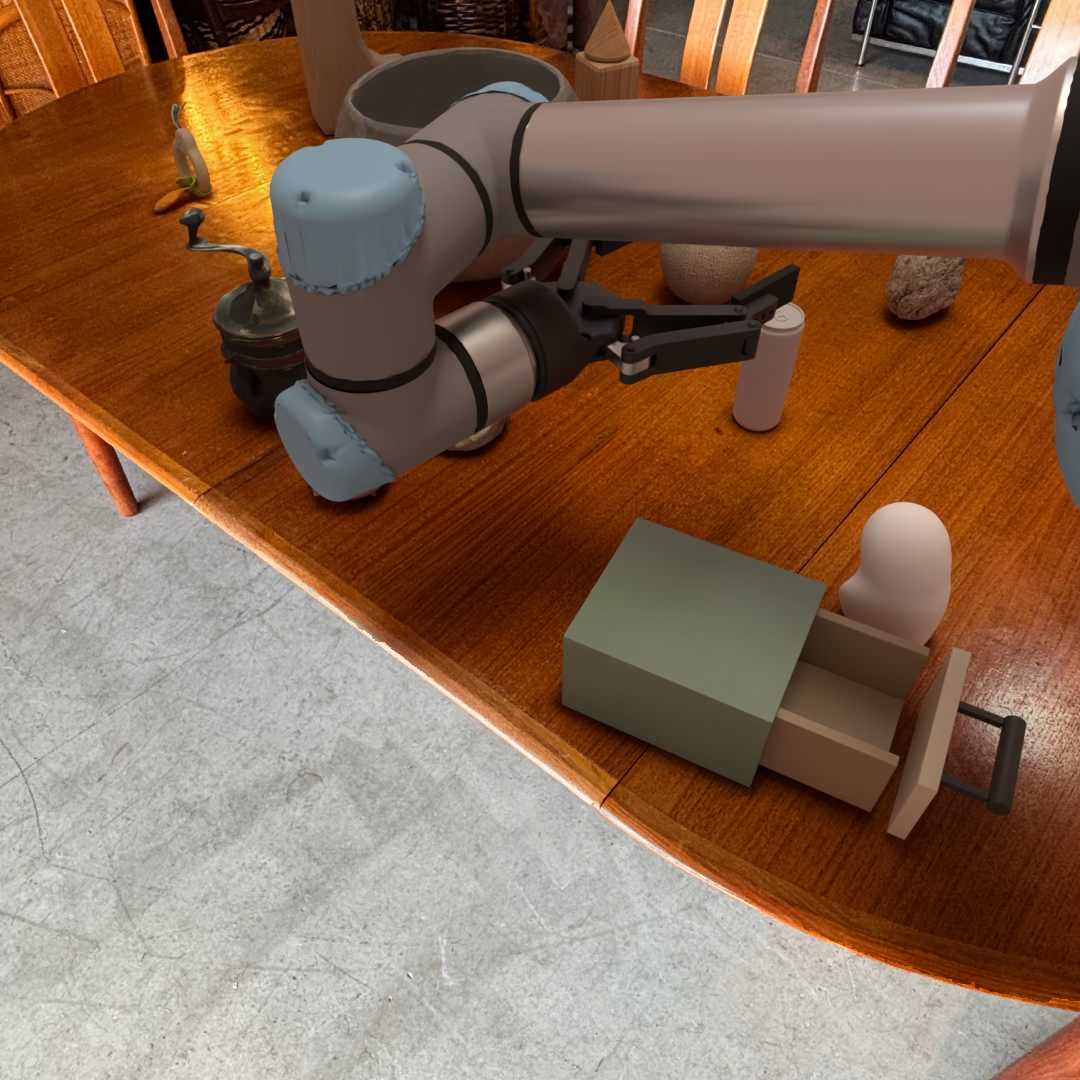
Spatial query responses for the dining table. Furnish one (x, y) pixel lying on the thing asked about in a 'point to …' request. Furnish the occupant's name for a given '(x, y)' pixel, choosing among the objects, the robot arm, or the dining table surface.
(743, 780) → the cabinet
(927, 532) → the figurine
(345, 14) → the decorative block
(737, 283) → the fruit
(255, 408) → the coffee grinder
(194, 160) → the rattle
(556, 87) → the clay pot
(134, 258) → the dining table surface
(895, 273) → the stone
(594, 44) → the decorative item
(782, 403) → the beverage can
